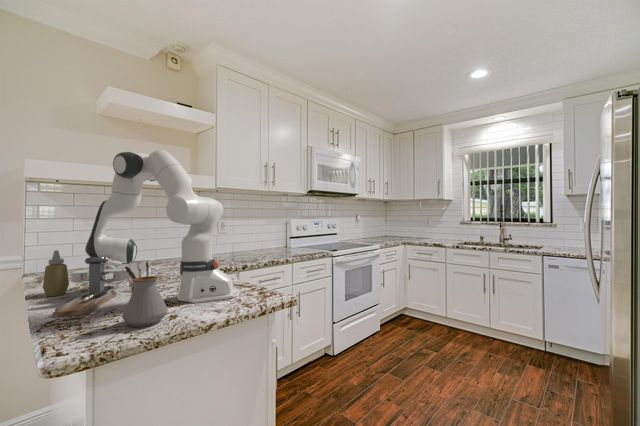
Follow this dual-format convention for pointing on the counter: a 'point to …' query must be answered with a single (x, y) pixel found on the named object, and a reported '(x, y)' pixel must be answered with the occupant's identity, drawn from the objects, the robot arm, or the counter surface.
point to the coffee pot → (144, 302)
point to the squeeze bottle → (56, 276)
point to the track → (82, 305)
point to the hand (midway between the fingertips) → (95, 278)
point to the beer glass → (139, 271)
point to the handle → (95, 277)
